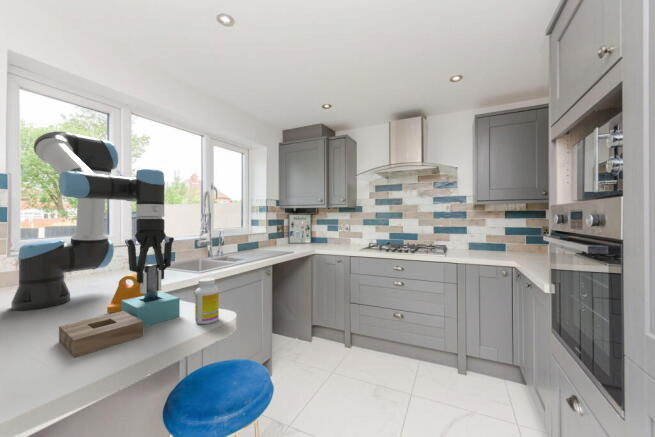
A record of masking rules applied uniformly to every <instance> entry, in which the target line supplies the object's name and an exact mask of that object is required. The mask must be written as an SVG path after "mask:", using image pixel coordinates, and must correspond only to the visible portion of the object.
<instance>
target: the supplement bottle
mask: <svg viewBox="0 0 655 437" xmlns="http://www.w3.org/2000/svg"><path fill="white" fill-rule="evenodd" d="M215 284H216V279H215V277H205V278H200V279H199V280H198V285H199V287H198V288H196V289H195V291H194V293H195V294H194V296H195V298H194V300H195V301H194V302H195V303H194V304H195V306H194V307H195V308H194V309H195V310H194V311H195V313H194V315H195V318H194V319H195V323H196V324H200V325H209V324H212V323H215V322H216V321H218V320H219V316H220V313H219V312H220V311H219V310H220V309H219V308H220V307H219V306H220V305H219V303H220V302H219V300H220V298H219V296H220V295H219V288H218V286H216V285H215Z"/></svg>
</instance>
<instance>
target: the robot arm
mask: <svg viewBox="0 0 655 437" xmlns="http://www.w3.org/2000/svg"><path fill="white" fill-rule="evenodd" d="M33 150H34V153H35V154H36V156H37V157H38V158H39V160H41V161H42V162H43V163H46V164H48V165H49V166H50V167H51V168H52V169H53V170H54V172H55V173H56V174H58V177H59V178H58V189H59V192H60V195H62V196H63V197H66V198H75V199H77V209H76V211H77V212H76V232H75V234H74V235H72V236H71V237H70V242H65V240H64V239H59V238H58V239H51V240H50V239H49V240H43V241H42V240H41V241H36V242H35V241H34V242H29V243H25V244H23V245H21V246H20V247H19V249H18V257H17V260H18V287H17V289H16V292H15V294H14V295H13V298H12V300H11V304H10V306H11V310H13V311H27V310H29V311H30V310H38V309H44V308H50V307H53V306H58V305H62V304H64V303H68V302H69V301H70V300H71V291H70V290H69V288H68V286H67V283H66V281H65V274H66V273H72V272H81V271H87V270H97V269H103V268H106V267H107V266H108V265H110V263H111V261H112V260H113V257H114V254H115V252H114V251H115V248H114V243H113V242H112V241H111V240H110V239H109V236H108V235H106V234H105V232H104V231H105V213H106V212H105V210H106V200H112V201H126V202H136V204H135V205H136V213H135V214H136V215H135V216H136V217H137V219H136V222H135V223H136V226H135V227H136V233H135V234H134V237H132V238H130V239H125V241H124V242H125V245H126V246H127V254H128V267H129V271H131V272H133V273H135V274H136V275H137V283H140V293H143V294H146V293H147V273H146V272H144V267H145V265H146V261H147V257H148V251H149V250H150V248H152V249H153V252H154V256H155V264H158V292H162V280H164V279H165V270H166V269H167V268H169V267H171V263H172V249H173V248H172V245H173V242H174V240H175V238H174V237H171V236H167V235H166V233H165V219H164V217H165V191H166V190H165V186H166V181H165V173H164V172H163V171H162V170H159V169H154V168H153V169H152V168H139V169H137V170H136V173H135V177H127V176H126V177H125V176H116V175H111V174H112V170H116V169H117V167H118V164H119V153H118V150H117V148H116V146H115V144H114V143H113V142H111V141H109V140H105V139H103V138H102V139H101V138H98V137H91V136H87V135H83V134H77V133H71V132H66V131H49V132H46V133H43V134H41V135H39V136H38V137H37V138H36V139H35V141H34V143H33ZM162 242H164V249H163V248H162ZM137 243H138V244H139V245H140V246H139V254H138V258H137V250H136V249H137V247H136V244H137ZM162 249H163V252H162ZM137 259H138V260H137Z"/></svg>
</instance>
